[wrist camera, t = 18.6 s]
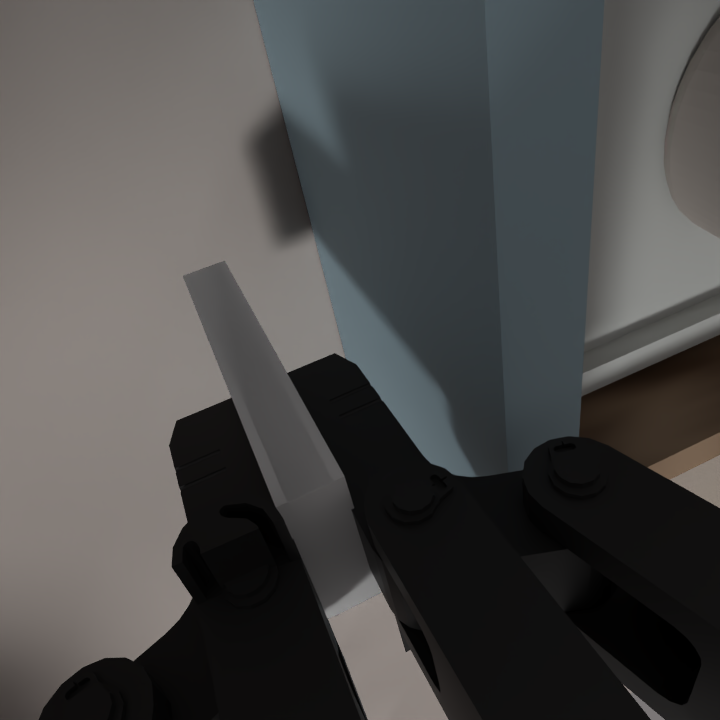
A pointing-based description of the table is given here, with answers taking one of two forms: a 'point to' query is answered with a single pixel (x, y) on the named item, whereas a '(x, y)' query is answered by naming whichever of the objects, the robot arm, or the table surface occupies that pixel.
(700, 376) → the brown wooden frame
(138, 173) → the table surface
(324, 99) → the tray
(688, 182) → the coffee cup
